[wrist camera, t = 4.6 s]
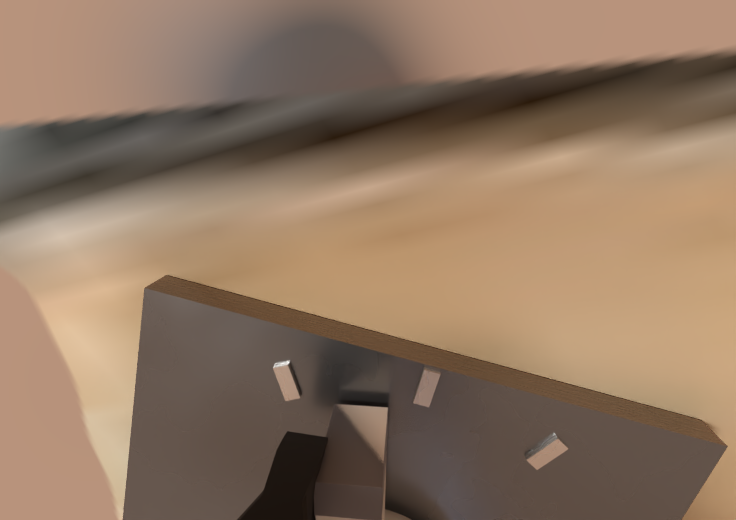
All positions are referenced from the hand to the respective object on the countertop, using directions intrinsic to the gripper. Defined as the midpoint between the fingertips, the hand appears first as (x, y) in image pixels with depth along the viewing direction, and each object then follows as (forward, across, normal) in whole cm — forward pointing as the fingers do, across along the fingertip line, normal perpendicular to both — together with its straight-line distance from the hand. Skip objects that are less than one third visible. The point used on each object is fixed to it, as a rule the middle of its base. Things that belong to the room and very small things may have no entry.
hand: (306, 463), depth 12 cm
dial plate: (+3, -2, +6) cm, 7 cm away
